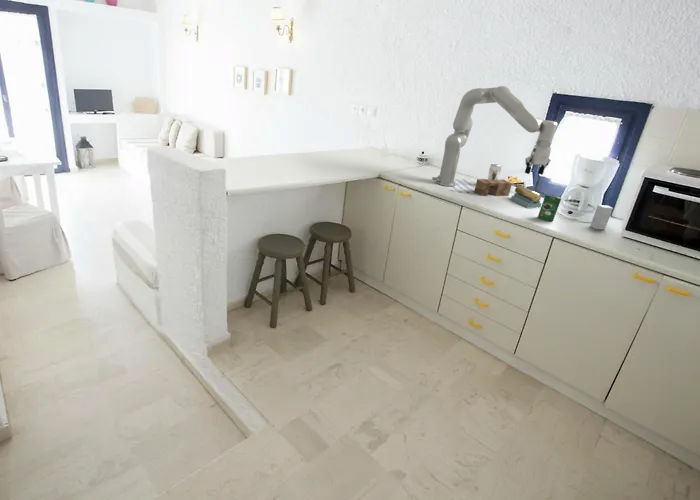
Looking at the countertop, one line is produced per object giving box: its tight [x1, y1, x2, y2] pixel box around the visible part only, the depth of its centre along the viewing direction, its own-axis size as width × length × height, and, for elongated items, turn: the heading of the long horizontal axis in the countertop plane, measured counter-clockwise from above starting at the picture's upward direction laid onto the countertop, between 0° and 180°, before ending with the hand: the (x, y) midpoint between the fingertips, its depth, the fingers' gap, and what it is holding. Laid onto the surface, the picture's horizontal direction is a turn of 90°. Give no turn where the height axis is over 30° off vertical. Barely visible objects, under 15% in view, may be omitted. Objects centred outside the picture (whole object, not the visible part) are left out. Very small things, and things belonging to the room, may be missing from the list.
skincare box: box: [589, 204, 614, 230], centre depth 214 cm, size 6×4×12 cm
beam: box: [473, 178, 513, 197], centre depth 253 cm, size 20×8×8 cm, turn 110°
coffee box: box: [537, 193, 562, 222], centre depth 217 cm, size 8×3×13 cm, turn 62°
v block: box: [510, 192, 543, 209], centre depth 242 cm, size 10×14×4 cm
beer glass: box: [487, 163, 502, 180], centre depth 265 cm, size 7×7×15 cm
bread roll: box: [514, 184, 542, 202], centre depth 241 cm, size 16×5×5 cm, turn 20°
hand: (533, 173), depth 236 cm, fingers open, 9 cm apart
